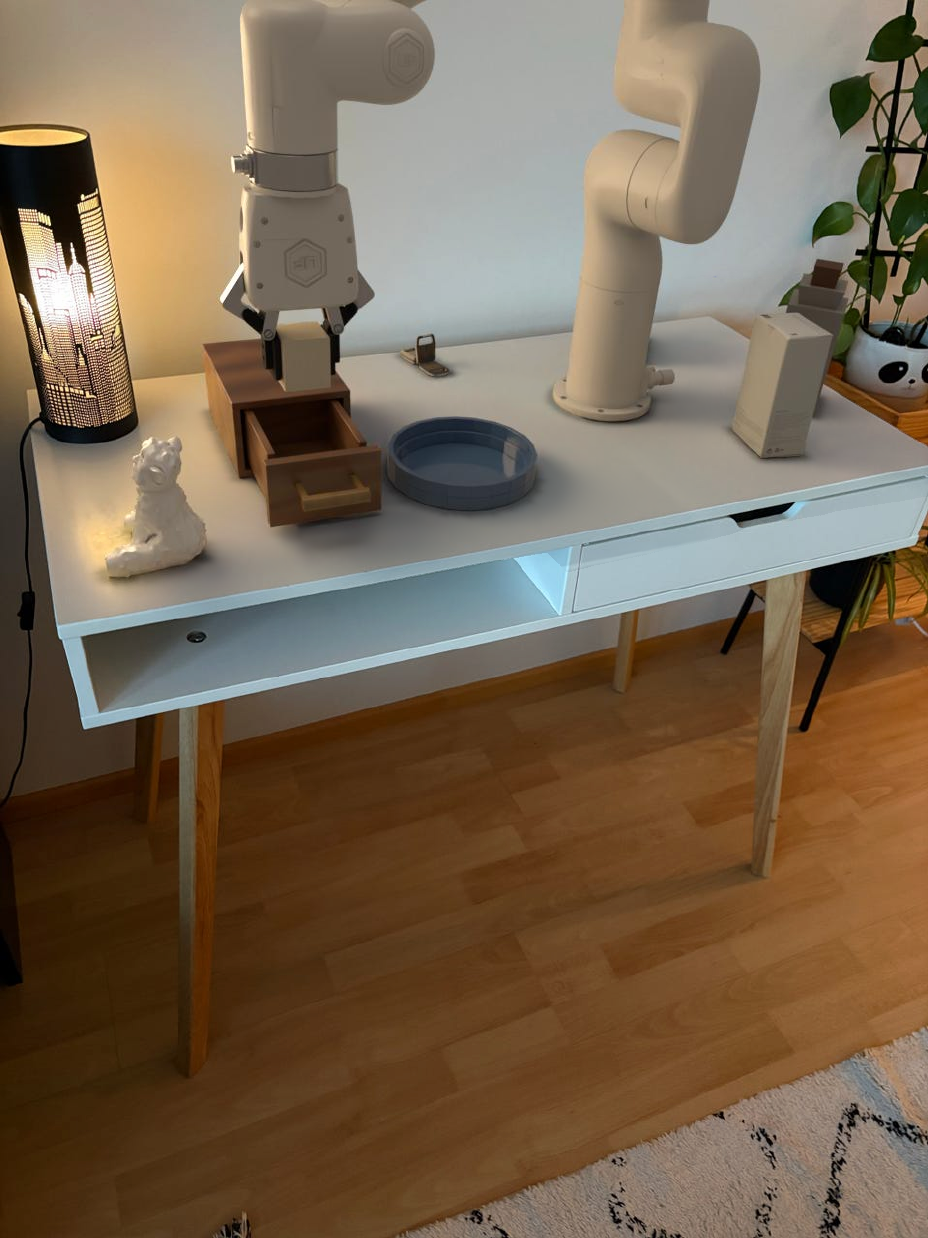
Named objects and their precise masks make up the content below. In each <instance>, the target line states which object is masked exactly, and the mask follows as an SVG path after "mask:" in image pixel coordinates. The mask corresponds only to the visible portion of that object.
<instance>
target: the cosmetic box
mask: <svg viewBox="0 0 928 1238" xmlns="http://www.w3.org/2000/svg"><path fill="white" fill-rule="evenodd" d="M750 335H751V336H750V340H749V345H748V350H747V355H746V360H745V365H744V369H743V374H742V379H741V384H740V389H739V393H738V399H737V403H736V408H735V411H734V418H733V421H732V422H733V423H732V427H731V431H732V432H733V433H734V434H735V435H736V436H738V437H739V439H740V440H742V441H743V443H745V444H746V445H747V446H748V447H749V448H750V449H751V450H753V452H755V454H757V455H758V457H760V458H764V459H765V458H767V459H768V458H774V457H775V458H777V457H780V458H781V457H783V458H785V457H787V458H788V457H801V456H802V455H803V453H804V451H805V447H806V444H807V439H808V435H809V432H810V427H811V425H812V421H813V417H812V416H813V412H814V408H815V404H816V400H817V396H818V392H819V388H820V384H821V380H822V376H823V372H824V368H825V364H826V360H827V356H828V352H829V348H830V344H831V340H832V337H833V335H832V334H831V333H829V332H828V331H826V330H824V329H822V328H821V327H819V326H818V325H816V324H814V323H813V322H811V321H810V320H808V319H807V318H805V317H804V316H802V315H801V314H799V313H786V312H784V313H782V312H781V313H769V314H768V313H766V314H756V315H755V316H754V321H753V325H752V331H751V334H750Z"/></svg>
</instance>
